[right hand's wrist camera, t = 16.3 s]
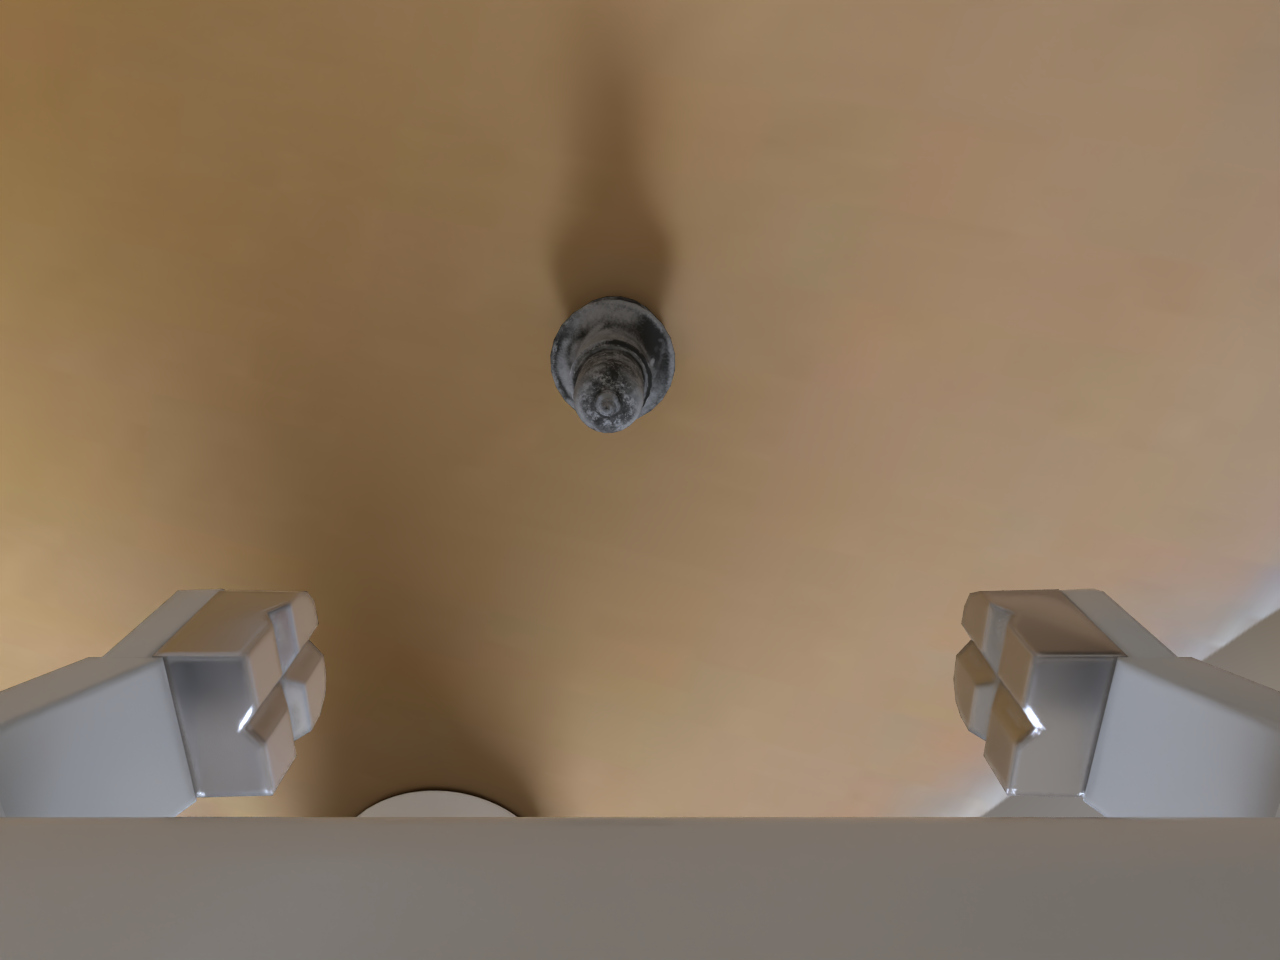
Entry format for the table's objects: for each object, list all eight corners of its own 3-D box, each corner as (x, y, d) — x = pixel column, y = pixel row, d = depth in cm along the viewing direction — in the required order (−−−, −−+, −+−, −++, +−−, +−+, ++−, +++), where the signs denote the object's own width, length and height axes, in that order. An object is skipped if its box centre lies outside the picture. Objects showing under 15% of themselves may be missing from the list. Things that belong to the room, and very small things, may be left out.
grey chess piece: (541, 380, 42) (506, 452, 31) (580, 271, 40) (559, 306, 29) (646, 420, 43) (650, 505, 31) (689, 316, 41) (711, 366, 30)
